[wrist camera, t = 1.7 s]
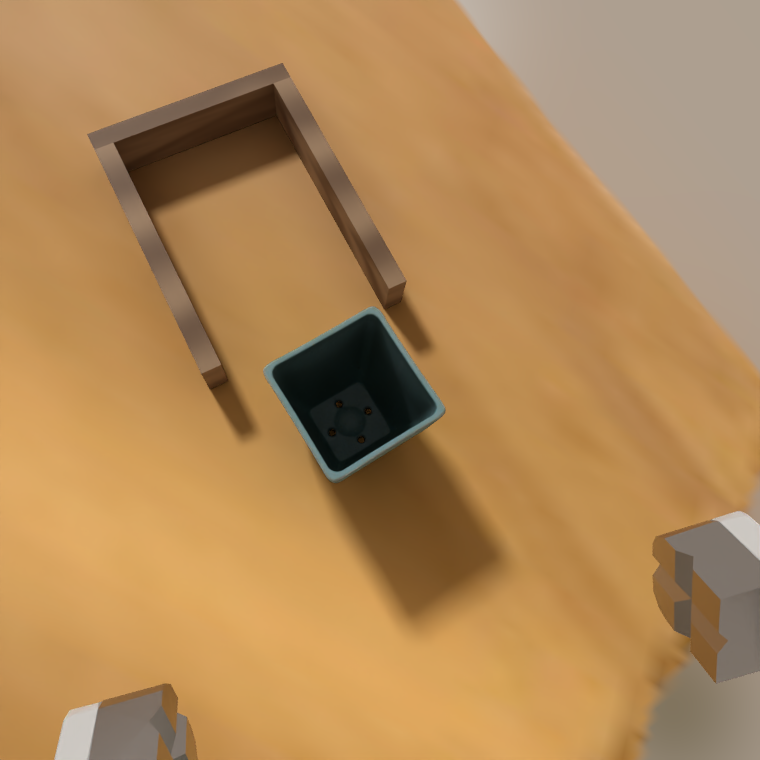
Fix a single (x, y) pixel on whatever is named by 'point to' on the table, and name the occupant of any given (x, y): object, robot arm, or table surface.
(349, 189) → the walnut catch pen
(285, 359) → the flower pot
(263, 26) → the table surface
